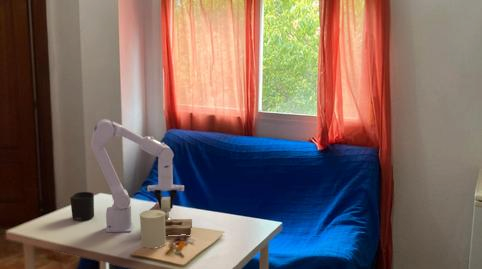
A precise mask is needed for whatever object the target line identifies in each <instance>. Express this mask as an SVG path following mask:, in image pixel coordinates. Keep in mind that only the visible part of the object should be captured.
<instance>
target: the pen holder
mask: <svg viewBox="0 0 482 269" xmlns="http://www.w3.org/2000/svg"><path fill="white" fill-rule="evenodd" d="M69 198H70V207H71V208H70V210H71V218H72V220H73V221H74V222H75V221H76V222H86V221H90V220H92V219H94V217H95V196H94V193H93V192H91V191H81V192H76V193H74V194H73V195H71V196H70V197H69Z"/></svg>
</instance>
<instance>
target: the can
mask: <svg viewBox="0 0 482 269" xmlns="http://www.w3.org/2000/svg"><path fill="white" fill-rule="evenodd" d="M139 220H140V221H139V222H140V246H141V247H142V248H144V247H146V248H145V249H149V248H154V249H156V248H155V247H160V246H162V245H164V244H165V243H166V244H167V240H166V238H167V237H166V235H165V212H164V211H161V210H150V209H148V210H145V211H142V212H140V214H139ZM166 244H165V245H166ZM165 245H164V246H165ZM162 247H163V246H162ZM160 248H161V247H160Z"/></svg>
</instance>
